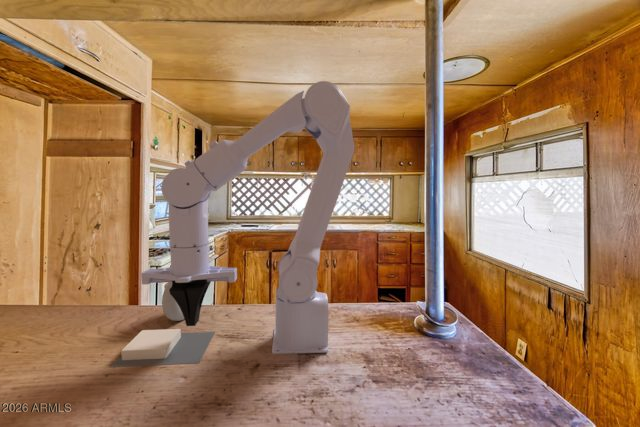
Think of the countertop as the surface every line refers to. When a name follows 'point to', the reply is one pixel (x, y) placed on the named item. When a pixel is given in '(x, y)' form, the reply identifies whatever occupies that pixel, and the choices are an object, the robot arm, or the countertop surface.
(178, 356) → the mat
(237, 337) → the countertop surface
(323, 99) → the robot arm
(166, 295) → the donut
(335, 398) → the countertop surface
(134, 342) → the tile
